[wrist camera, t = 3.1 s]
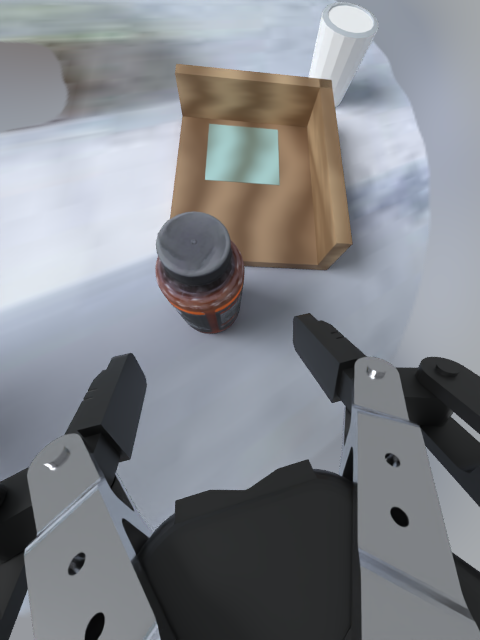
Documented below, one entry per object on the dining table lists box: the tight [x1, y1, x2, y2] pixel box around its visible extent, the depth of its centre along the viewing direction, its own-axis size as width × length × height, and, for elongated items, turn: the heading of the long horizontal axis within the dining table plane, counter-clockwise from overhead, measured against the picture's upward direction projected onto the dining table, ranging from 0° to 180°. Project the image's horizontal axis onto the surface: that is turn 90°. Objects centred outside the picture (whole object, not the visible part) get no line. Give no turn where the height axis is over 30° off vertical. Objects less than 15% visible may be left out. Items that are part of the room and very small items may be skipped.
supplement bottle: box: [156, 212, 244, 333], centre depth 16 cm, size 6×6×11 cm
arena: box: [170, 64, 352, 270], centre depth 23 cm, size 18×22×5 cm
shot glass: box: [309, 2, 378, 107], centre depth 27 cm, size 7×7×7 cm
